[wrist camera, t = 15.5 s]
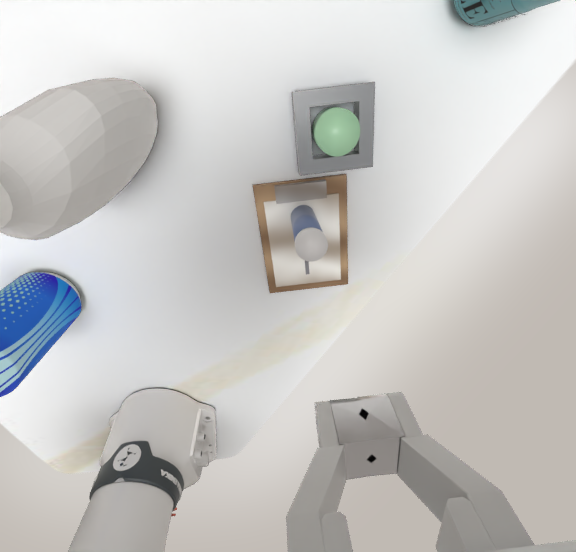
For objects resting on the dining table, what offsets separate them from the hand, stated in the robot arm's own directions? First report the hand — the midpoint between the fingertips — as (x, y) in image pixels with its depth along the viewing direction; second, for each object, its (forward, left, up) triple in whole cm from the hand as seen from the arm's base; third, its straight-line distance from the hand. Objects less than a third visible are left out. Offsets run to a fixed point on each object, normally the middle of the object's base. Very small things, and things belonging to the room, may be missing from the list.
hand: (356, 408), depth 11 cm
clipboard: (-7, -1, -31) cm, 32 cm away
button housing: (+6, -5, -31) cm, 32 cm away
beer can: (-11, +34, -31) cm, 48 cm away
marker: (-4, -1, -30) cm, 30 cm away
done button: (+6, -5, -31) cm, 31 cm away
